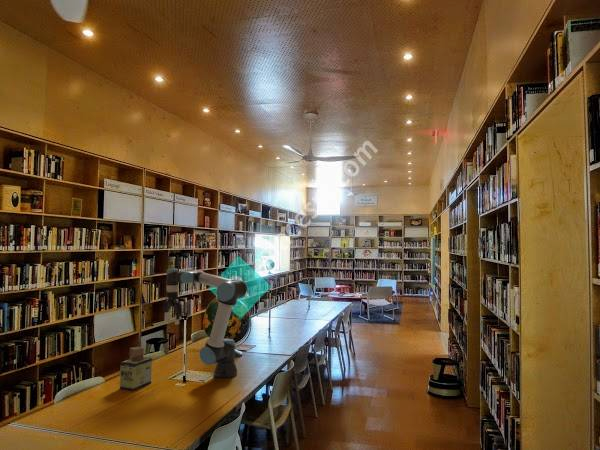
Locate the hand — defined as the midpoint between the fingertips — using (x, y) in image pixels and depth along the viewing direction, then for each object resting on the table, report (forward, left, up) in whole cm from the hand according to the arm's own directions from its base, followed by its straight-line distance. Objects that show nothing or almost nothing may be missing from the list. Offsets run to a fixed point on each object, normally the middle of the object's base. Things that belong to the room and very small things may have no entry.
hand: (171, 323), depth 277 cm
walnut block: (-11, +28, -17) cm, 35 cm away
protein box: (-11, +28, -33) cm, 45 cm away
